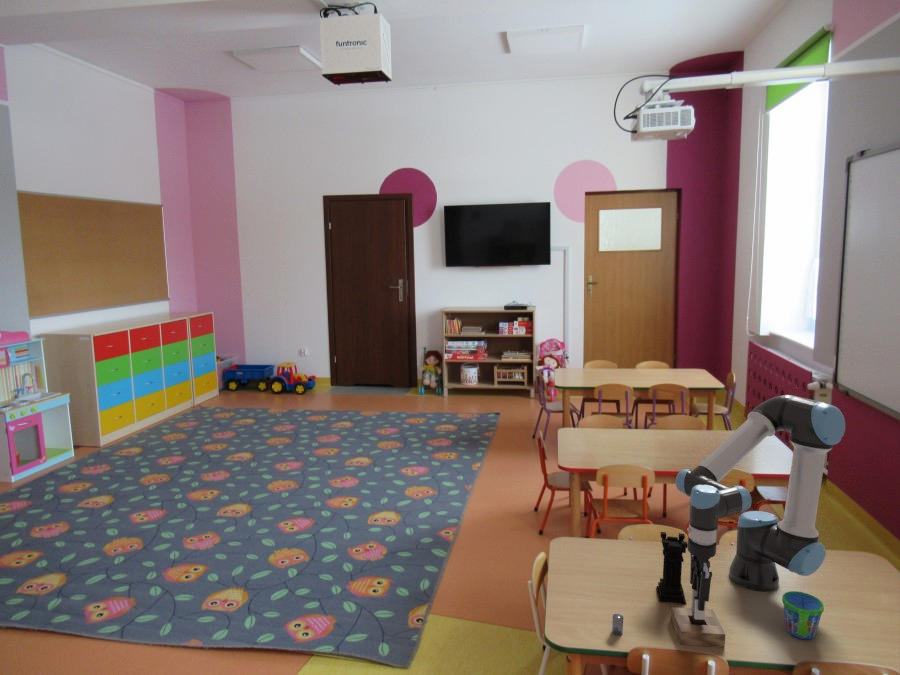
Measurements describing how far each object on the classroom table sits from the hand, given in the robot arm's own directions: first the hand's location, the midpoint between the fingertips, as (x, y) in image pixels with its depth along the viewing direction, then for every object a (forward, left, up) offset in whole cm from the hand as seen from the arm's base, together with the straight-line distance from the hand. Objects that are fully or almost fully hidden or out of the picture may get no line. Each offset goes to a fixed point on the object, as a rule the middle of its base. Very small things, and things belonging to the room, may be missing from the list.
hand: (697, 615), depth 184 cm
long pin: (0, 0, -4) cm, 4 cm away
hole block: (0, 0, -6) cm, 6 cm away
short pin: (+23, +2, -6) cm, 24 cm away
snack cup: (-30, -3, -6) cm, 31 cm away
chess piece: (+3, -19, -6) cm, 20 cm away
